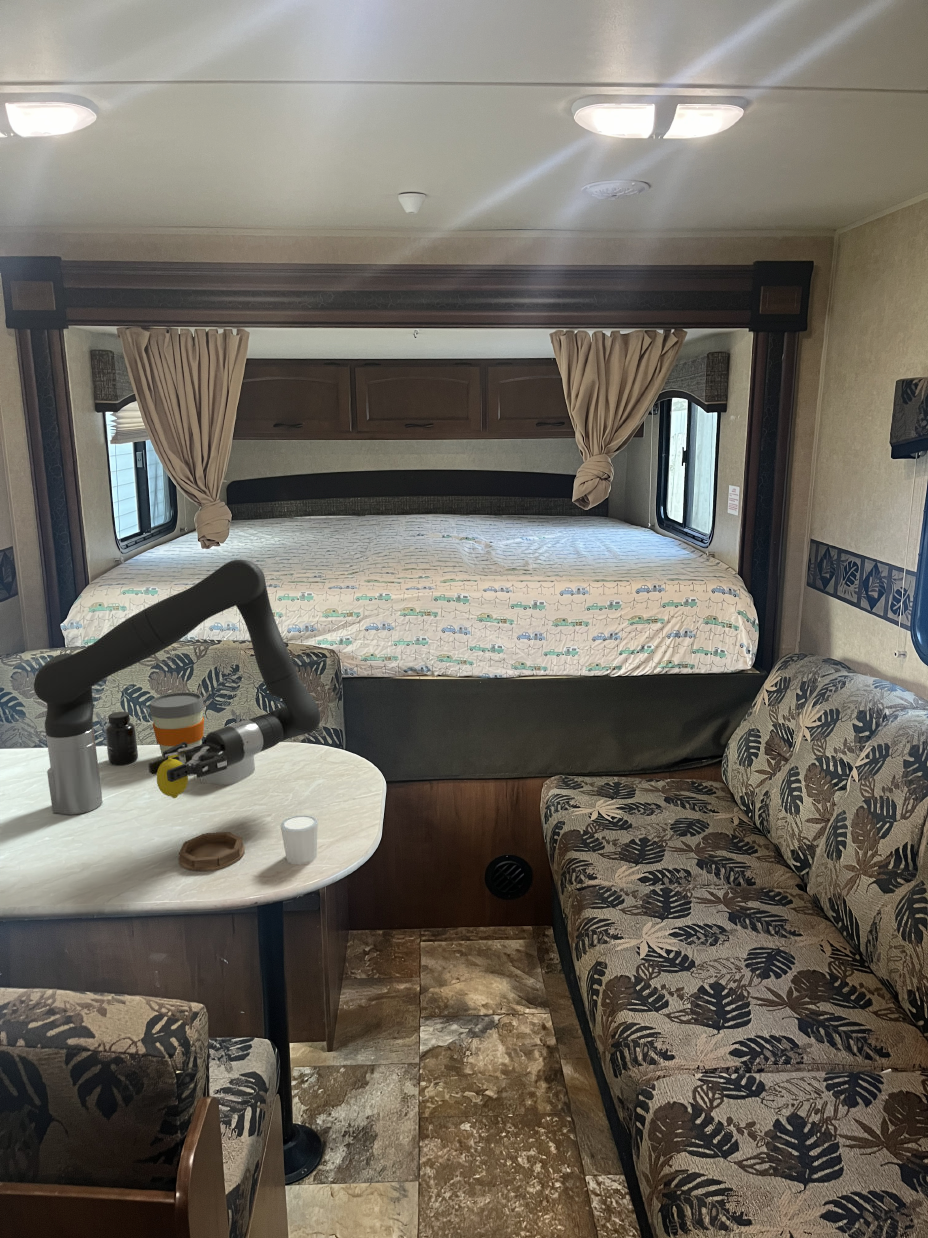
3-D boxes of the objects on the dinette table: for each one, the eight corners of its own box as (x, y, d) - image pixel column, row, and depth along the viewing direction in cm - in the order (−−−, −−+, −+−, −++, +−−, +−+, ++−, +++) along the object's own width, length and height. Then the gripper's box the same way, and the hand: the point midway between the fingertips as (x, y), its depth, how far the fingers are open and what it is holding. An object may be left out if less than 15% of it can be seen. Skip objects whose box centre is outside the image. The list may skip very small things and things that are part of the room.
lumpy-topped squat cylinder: (194, 781, 199) (191, 745, 197) (230, 760, 211) (227, 727, 209) (232, 787, 195) (229, 750, 193) (265, 766, 207) (263, 731, 205)
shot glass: (324, 848, 165) (322, 814, 164) (314, 866, 158) (312, 831, 157) (289, 848, 166) (286, 814, 164) (278, 865, 159) (275, 830, 158)
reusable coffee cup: (153, 753, 217) (147, 696, 214) (205, 745, 222) (199, 689, 218) (157, 770, 206) (150, 710, 202) (211, 761, 210) (206, 702, 207)
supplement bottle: (103, 765, 210) (97, 718, 207) (118, 755, 216) (113, 709, 214) (129, 766, 209) (123, 719, 206) (144, 756, 215) (138, 710, 213)
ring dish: (172, 873, 157) (171, 863, 157) (186, 842, 169) (185, 833, 168) (239, 869, 158) (238, 859, 158) (249, 838, 170) (248, 829, 170)
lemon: (162, 793, 165) (156, 754, 163) (192, 790, 166) (187, 751, 164) (157, 806, 160) (151, 765, 158) (188, 802, 161) (183, 762, 159)
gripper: (210, 719, 176) (134, 746, 163) (255, 733, 167) (179, 762, 154) (214, 753, 177) (139, 782, 165) (259, 769, 169) (184, 801, 156)
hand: (159, 772), depth 159 cm, fingers closed on lemon, 5 cm apart
